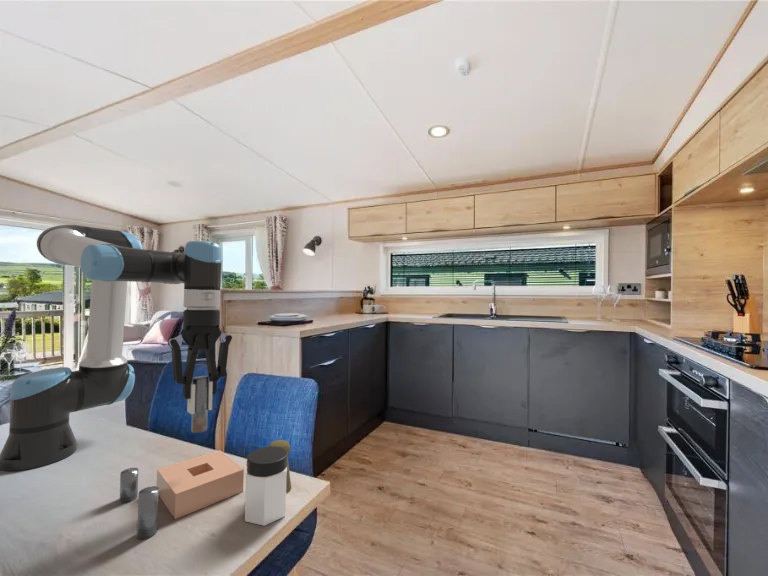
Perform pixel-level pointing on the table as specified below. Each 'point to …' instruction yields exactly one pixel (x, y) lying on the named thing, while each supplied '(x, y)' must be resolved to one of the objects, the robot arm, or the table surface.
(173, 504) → the socket block
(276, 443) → the olive pawn
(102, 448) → the table surface
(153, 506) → the medium pin
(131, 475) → the short pin
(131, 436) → the table surface
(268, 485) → the jar
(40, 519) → the table surface
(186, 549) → the table surface
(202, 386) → the long pin
